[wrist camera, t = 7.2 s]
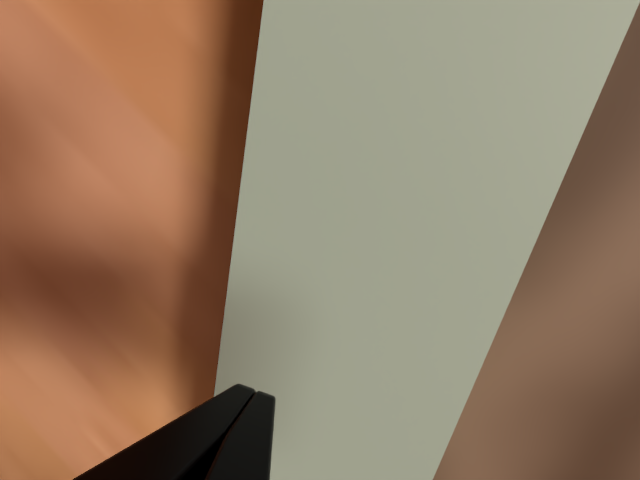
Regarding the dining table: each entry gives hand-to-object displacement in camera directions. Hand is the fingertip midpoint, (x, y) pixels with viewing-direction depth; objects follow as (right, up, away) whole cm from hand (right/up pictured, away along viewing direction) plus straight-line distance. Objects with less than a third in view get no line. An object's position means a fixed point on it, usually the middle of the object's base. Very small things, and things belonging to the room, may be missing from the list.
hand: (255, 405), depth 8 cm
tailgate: (+6, 0, +5) cm, 8 cm away
